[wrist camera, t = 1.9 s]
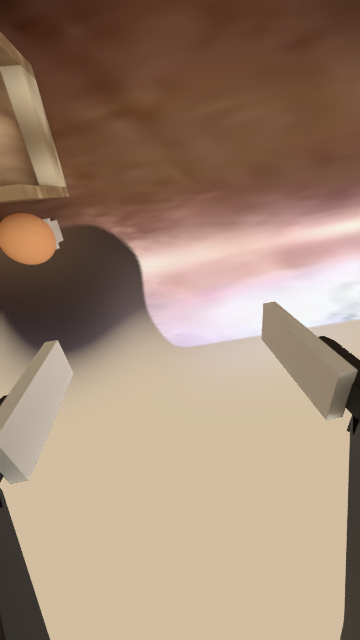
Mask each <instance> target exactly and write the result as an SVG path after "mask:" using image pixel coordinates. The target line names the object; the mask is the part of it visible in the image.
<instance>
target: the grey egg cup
mask: <svg viewBox="0 0 360 640" xmlns="http://www.w3.org/2000/svg"><path fill="white" fill-rule="evenodd" d="M42 220H43V221H45V222H46V223H47V224H48V225H49V226H50V228H51V229H52V231H53V233H54V235H55V239H56V248H55V249H58V248H59V244H58V243H59V242H61V241H63V238H62V234H61V231H60V228H59V225H58V222H57V220H51V221H50V218H47V219H42Z"/></svg>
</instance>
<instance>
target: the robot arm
mask: <svg viewBox="0 0 360 640" xmlns="http://www.w3.org/2000/svg"><path fill="white" fill-rule="evenodd" d="M262 340H263V341H264V343H265V344H266V345H267V346H268V348H269V349H270V350H271V351H272V352H273V354H274V355H275V356H276V358H277V359H278V360H279V361H280V363H281V364H282V365H283V366H284V368H285V369H286V370H287V371H288V373H289V374H290V375H291V377H292V378H293V379H294V380H295V382H296V383H297V384H298V385H299V387H300V388H301V389H302V390H303V392H304V393H305V394H306V395H307V397H308V398H309V399H310V400H311V402H312V403H313V404H314V405H315V407H316V408H317V409H318V410H319V412H320V413H321V414H322V416H323V417H324V418H325V419H326V420H330V419H334V418H339V417H343V414H344V411H345V408H347V409H348V410H349V412H350V413H351V414H352V417H351V420H350V423H349V425H348V429H347V431H349V432H350V454H349V485H348V486H349V488H348V518H347V549H346V550H347V552H346V581H345V582H346V583H345V612H344V623H343V629H342V633H341V638H340V640H360V360H359V359H358V358H356V357H355V356H354V355H352V354H351V353H349V352H348V351H347V350H346V349H345V348H342V346H341V345H340V344H338V343H337V342H336V341H334V340H332V339H330V338H327V337H325V336H320V337H317V336H316V335H314V334H313V333H312V332H311V331H310V330H309V329H307V328H306V327H305V326H304V325H302V324H301V323H300V322H299V321H298V320H296V319H295V318H294V317H293V316H292V315H290V314H289V313H288V312H287V311H286V310H284V309H283V308H282V307H281V306H280V305H278V304H277V303H276V302H270V303H265V304H263V323H262ZM72 376H73V371H72V369H71V367H70V366H69V363H68V361H67V359H66V357H65V355H64V353H63V351H62V348H61V347H60V344H59V342H58V341H57V340H56V341H51V342H45V343H44V345H43V346H42V347H41V349H40V350H39V352H38V353H37V355H36V356H35V357H34V359H33V360H32V362H31V363H30V365H29V366H28V367H27V369H26V370H25V372H24V373H23V374H22V376H21V377H20V379H19V380H18V382H17V383H16V384H15V386H14V387H13V389H12V390H11V391H10V393H9V394H8V395H6V396H3V397H2V398H1V399H0V482H1V480H2V478H3V477H4V478H5V479H6V480H7V481H8V482H9V483H10V484H13V483H18V482H23V481H28V480H29V479H30V476H31V474H32V471H33V469H34V467H35V465H36V462H37V460H38V457H39V455H40V453H41V450H42V447H43V445H44V443H45V441H46V438H47V436H48V433H49V431H50V429H51V426H52V424H53V421H54V419H55V417H56V414H57V412H58V410H59V407H60V405H61V403H62V400H63V398H64V395H65V393H66V391H67V388H68V386H69V383H70V381H71V378H72ZM0 640H50V638H49V635H48V632H47V629H46V626H45V623H44V619H43V616H42V613H41V610H40V607H39V604H38V601H37V597H36V594H35V591H34V588H33V585H32V582H31V579H30V576H29V573H28V570H27V566H26V563H25V560H24V557H23V554H22V551H21V547H20V544H19V541H18V538H17V535H16V532H15V529H14V526H13V523H12V520H11V516H10V513H9V510H8V507H7V504H6V501H5V498H4V495H3V492H2V490H1V489H0Z"/></svg>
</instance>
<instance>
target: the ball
mask: <svg viewBox="0 0 360 640" xmlns="http://www.w3.org/2000/svg"><path fill="white" fill-rule="evenodd" d="M0 246H1V248H2V250H3V251H4V252H5V253H6V254H7V255H8V256H9V257H10V258H12V259H13V260H16V261H18V262H20V263H23V264H30V265H34V264H40V263H43V262H45V261H47V260H48V259H49V258H50V257H51V256H52V255H53V253H54V251H55V248H56V239H55V235H54V233H53V231H52V229H51V228H50V226H49V225H48V224H47V223H46V222H45V221H43V220H42V219H40V218H39V217H37V216H35V215H32V214H28V213H14V214H11V215H9V216H7V217H5V218H4V219H3V220H2V221H1V222H0Z"/></svg>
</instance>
